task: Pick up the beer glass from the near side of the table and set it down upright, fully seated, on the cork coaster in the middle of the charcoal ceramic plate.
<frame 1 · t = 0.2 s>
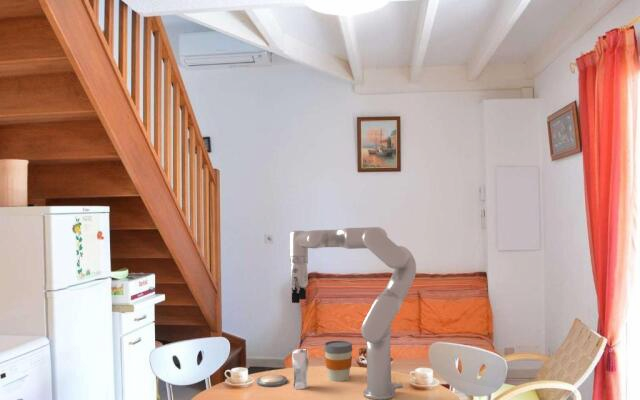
hand: (299, 300, 208), 36 cm above the table, tool pointing down, fingers open, 9 cm apart
coaster plate: (271, 382, 215), on the table
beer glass: (300, 387, 207), on the table
reusable coffee cup: (338, 378, 219), on the table
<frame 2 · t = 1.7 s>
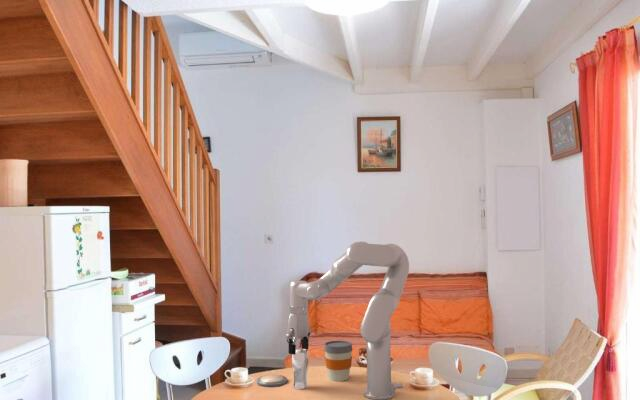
hand: (298, 351, 208), 15 cm above the table, tool pointing down, fingers open, 9 cm apart
nothing on the table moved.
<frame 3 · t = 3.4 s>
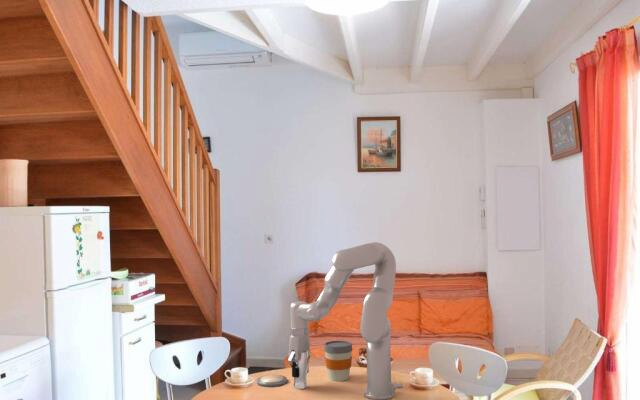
hand: (300, 374, 208), 5 cm above the table, tool pointing down, fingers closed on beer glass, 6 cm apart
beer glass: (300, 387, 207), on the table, touching gripper
everything else where it was.
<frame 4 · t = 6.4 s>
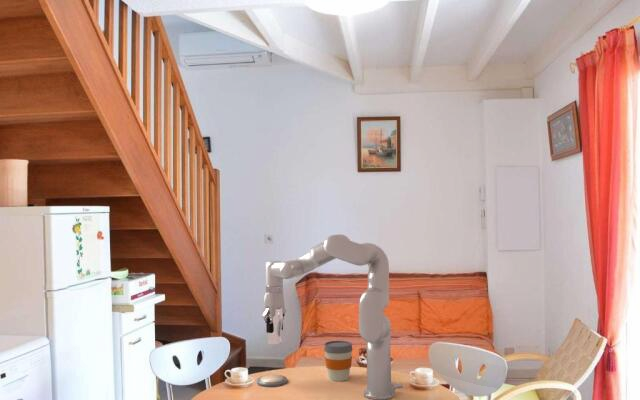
hand: (274, 330, 215), 22 cm above the table, tool pointing down, fingers closed on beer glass, 6 cm apart
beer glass: (274, 343, 215), point 17 cm above the table, touching gripper
everything else where it was.
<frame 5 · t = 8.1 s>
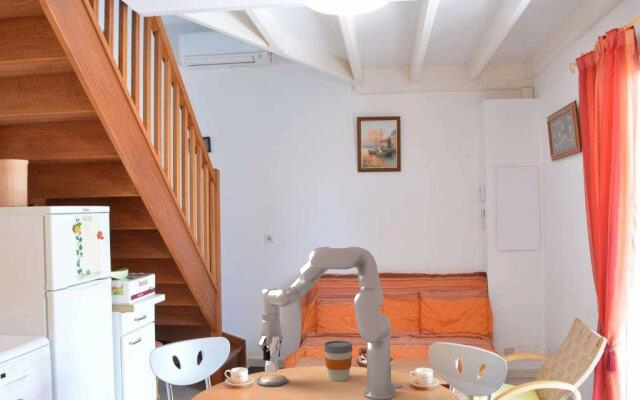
hand: (271, 358, 215), 10 cm above the table, tool pointing down, fingers closed on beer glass, 6 cm apart
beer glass: (271, 370, 215), point 5 cm above the table, touching gripper
everything else where it was.
when the fingers open (8 cm above the table, at t = 9.4 s): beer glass drops 1 cm, resting on coaster plate.
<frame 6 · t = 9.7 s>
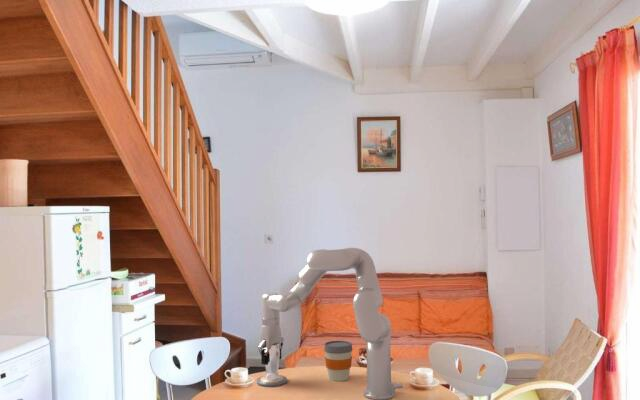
hand: (271, 361, 215), 9 cm above the table, tool pointing down, fingers open, 9 cm apart
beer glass: (272, 379, 215), point 1 cm above the table, touching coaster plate
everything else where it was.
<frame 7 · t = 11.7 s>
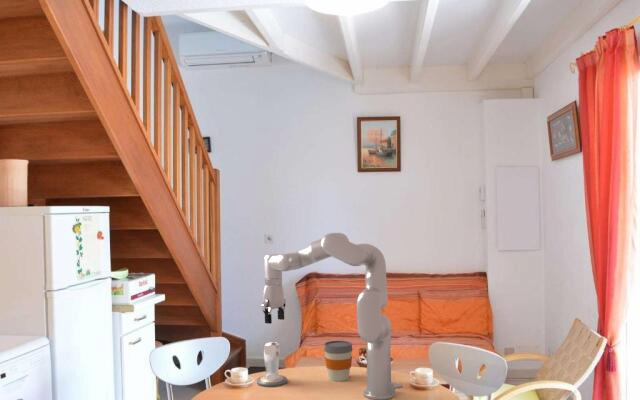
hand: (274, 321, 218), 26 cm above the table, tool pointing down, fingers open, 9 cm apart
nothing on the table moved.
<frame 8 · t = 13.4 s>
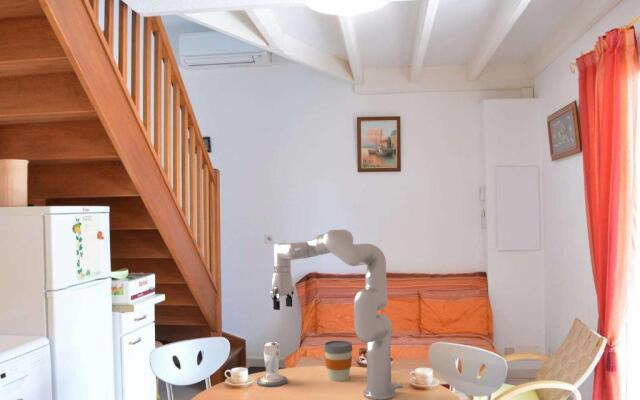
hand: (283, 308, 225), 30 cm above the table, tool pointing down, fingers open, 9 cm apart
nothing on the table moved.
at the end: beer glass 0.3 cm from the coaster plate (horizontally); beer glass tilted 0°; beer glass touching coaster plate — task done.
